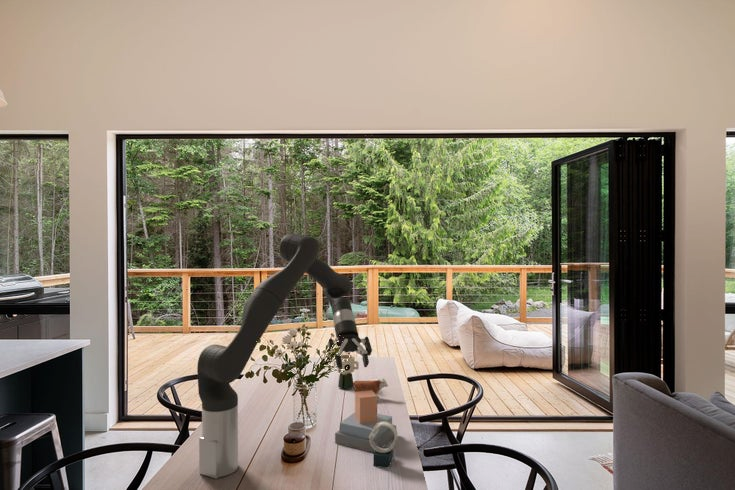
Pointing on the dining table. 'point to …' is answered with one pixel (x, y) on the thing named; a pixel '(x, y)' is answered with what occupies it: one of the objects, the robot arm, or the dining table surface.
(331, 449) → the dining table surface
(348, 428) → the two-tier stepped box
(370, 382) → the bull figurine
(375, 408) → the terracotta brick
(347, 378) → the character mug
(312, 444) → the dining table surface
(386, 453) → the grey ring on block
